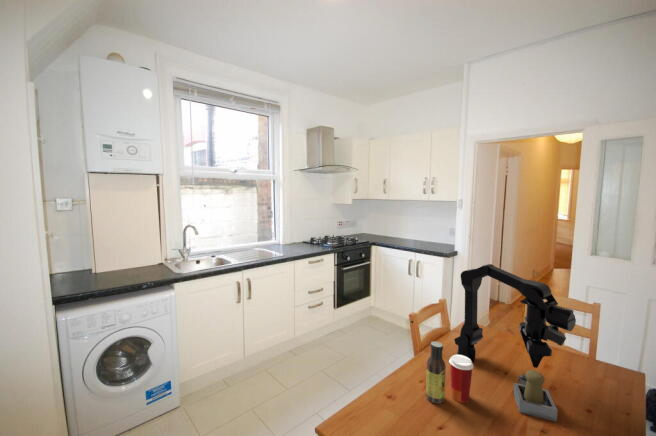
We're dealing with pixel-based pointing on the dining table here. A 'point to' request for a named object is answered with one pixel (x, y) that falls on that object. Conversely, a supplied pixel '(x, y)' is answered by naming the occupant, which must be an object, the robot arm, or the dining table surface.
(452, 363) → the paper cup
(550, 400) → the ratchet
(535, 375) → the cork
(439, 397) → the sauce bottle
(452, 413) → the dining table surface
